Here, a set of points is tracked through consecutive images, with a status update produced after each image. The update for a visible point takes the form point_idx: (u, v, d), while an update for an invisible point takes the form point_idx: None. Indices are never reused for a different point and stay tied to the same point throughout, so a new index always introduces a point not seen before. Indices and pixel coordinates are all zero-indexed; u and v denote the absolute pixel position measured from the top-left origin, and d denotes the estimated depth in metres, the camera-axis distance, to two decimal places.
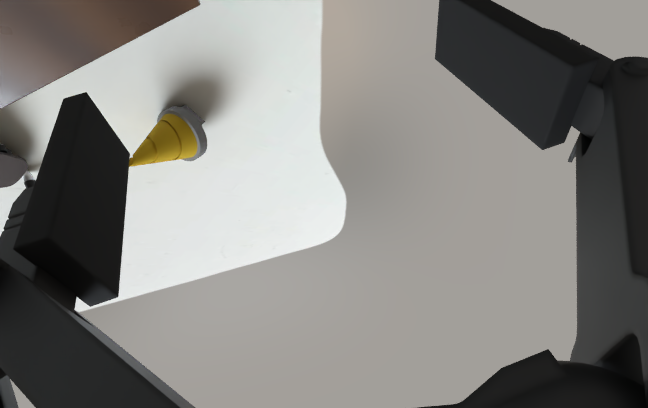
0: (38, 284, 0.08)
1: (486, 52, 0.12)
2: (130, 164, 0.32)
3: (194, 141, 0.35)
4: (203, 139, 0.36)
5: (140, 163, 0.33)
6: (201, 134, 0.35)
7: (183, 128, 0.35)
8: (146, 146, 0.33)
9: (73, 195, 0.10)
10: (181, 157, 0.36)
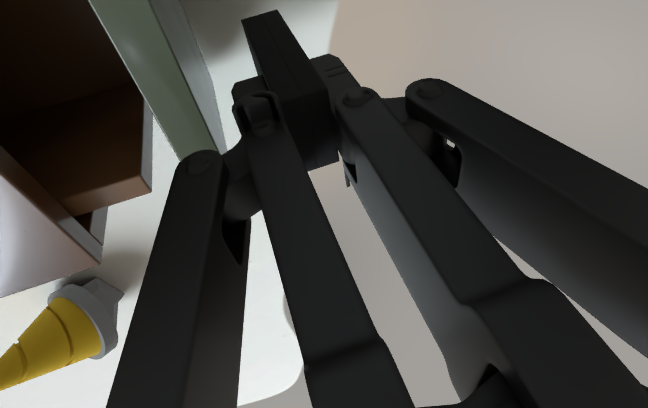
0: None
1: None
2: None
3: (96, 342, 0.24)
4: (112, 338, 0.24)
5: None
6: (109, 332, 0.24)
7: (81, 326, 0.23)
8: (10, 363, 0.21)
9: None
10: (72, 363, 0.24)
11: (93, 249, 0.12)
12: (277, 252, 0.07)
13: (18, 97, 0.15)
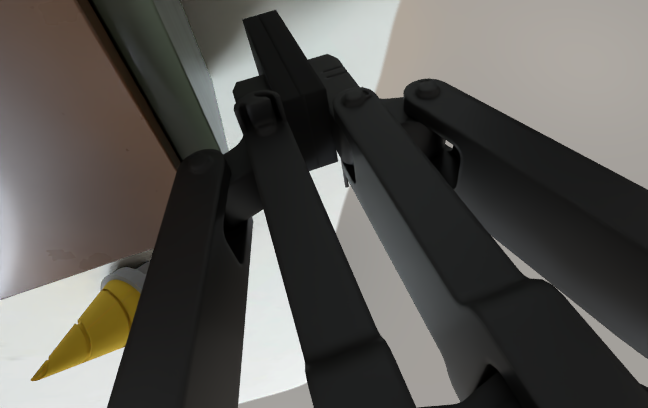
0: None
1: None
2: (41, 376, 0.20)
3: None
4: None
5: (59, 371, 0.21)
6: None
7: None
8: (75, 342, 0.21)
9: None
10: None
11: None
12: (279, 251, 0.07)
13: None
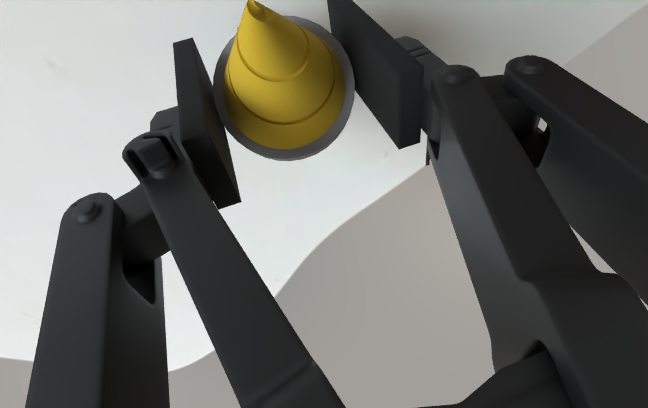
0: None
1: (358, 59, 0.13)
2: (257, 17, 0.08)
3: (325, 129, 0.14)
4: (331, 142, 0.15)
5: (265, 46, 0.09)
6: (341, 129, 0.15)
7: (340, 89, 0.14)
8: (297, 33, 0.10)
9: (208, 111, 0.11)
10: (275, 129, 0.13)
11: None
12: (196, 298, 0.07)
13: None
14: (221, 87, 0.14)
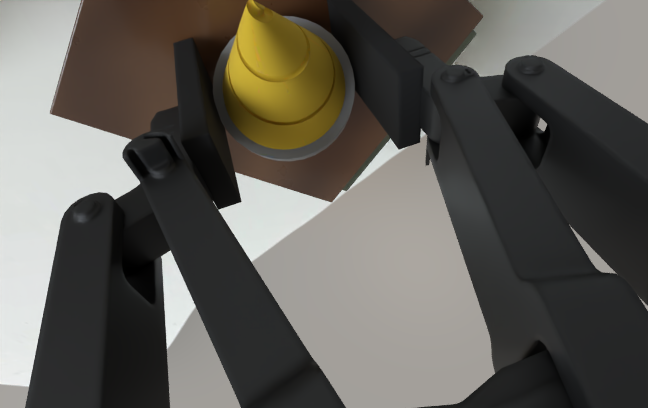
0: (199, 181, 0.10)
1: (358, 59, 0.13)
2: (257, 17, 0.08)
3: (325, 129, 0.14)
4: (331, 142, 0.15)
5: (265, 47, 0.09)
6: (341, 130, 0.14)
7: (340, 89, 0.13)
8: (298, 33, 0.10)
9: (208, 111, 0.11)
10: (274, 130, 0.13)
11: None
12: (196, 298, 0.07)
13: None
14: (221, 87, 0.14)
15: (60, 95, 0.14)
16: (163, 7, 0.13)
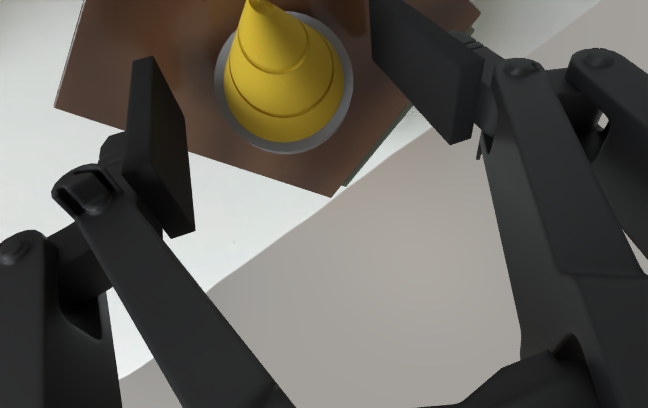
0: (141, 211, 0.09)
1: (404, 53, 0.13)
2: (258, 9, 0.09)
3: (324, 122, 0.14)
4: (330, 135, 0.15)
5: (266, 39, 0.09)
6: (340, 123, 0.15)
7: (338, 83, 0.14)
8: (297, 26, 0.10)
9: (159, 137, 0.11)
10: (275, 122, 0.13)
11: None
12: (147, 337, 0.06)
13: None
14: (222, 81, 0.14)
15: (64, 89, 0.15)
16: (165, 2, 0.14)
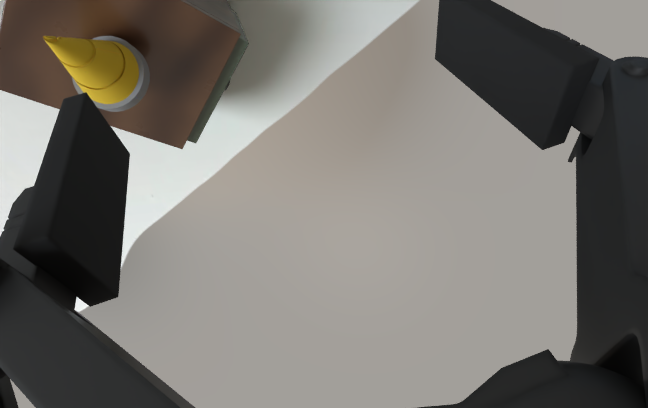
0: (38, 284, 0.08)
1: (486, 52, 0.12)
2: (50, 41, 0.22)
3: (127, 93, 0.27)
4: (136, 101, 0.28)
5: (60, 52, 0.22)
6: (140, 94, 0.28)
7: (132, 72, 0.27)
8: (84, 46, 0.24)
9: (73, 195, 0.10)
10: (94, 92, 0.26)
11: (184, 143, 0.37)
12: None
13: None
14: None
15: None
16: (43, 32, 0.27)
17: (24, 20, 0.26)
